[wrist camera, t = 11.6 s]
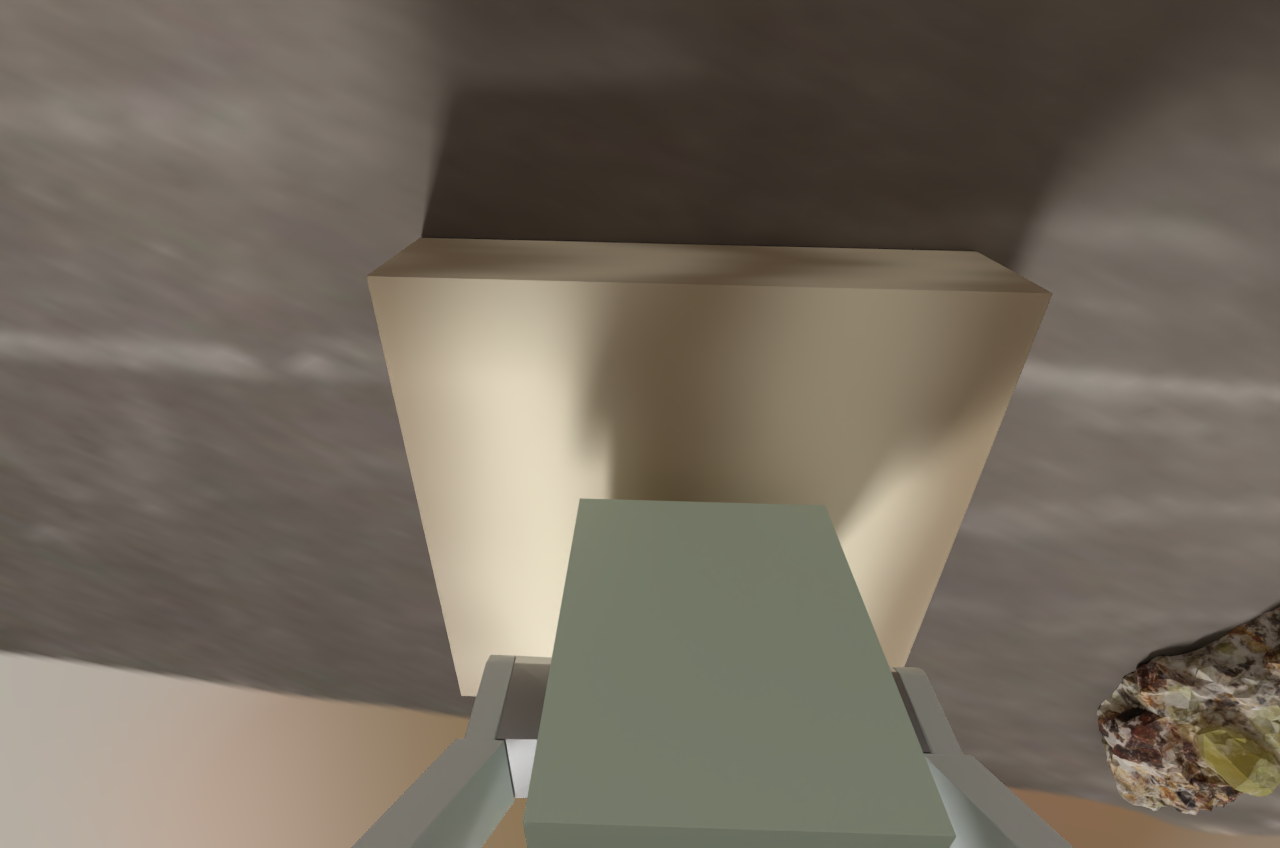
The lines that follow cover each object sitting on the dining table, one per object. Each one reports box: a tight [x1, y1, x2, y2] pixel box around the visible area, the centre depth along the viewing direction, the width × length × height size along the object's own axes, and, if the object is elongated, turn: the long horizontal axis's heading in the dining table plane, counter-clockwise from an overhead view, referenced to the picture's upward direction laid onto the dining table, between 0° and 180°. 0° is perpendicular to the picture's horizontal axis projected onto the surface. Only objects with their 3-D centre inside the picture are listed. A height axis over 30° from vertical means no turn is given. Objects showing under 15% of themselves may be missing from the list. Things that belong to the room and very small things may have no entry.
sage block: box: [523, 498, 956, 848], centre depth 11 cm, size 5×5×6 cm
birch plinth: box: [367, 238, 1053, 696], centre depth 16 cm, size 13×13×3 cm
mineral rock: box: [1097, 608, 1280, 815], centre depth 21 cm, size 11×4×8 cm
